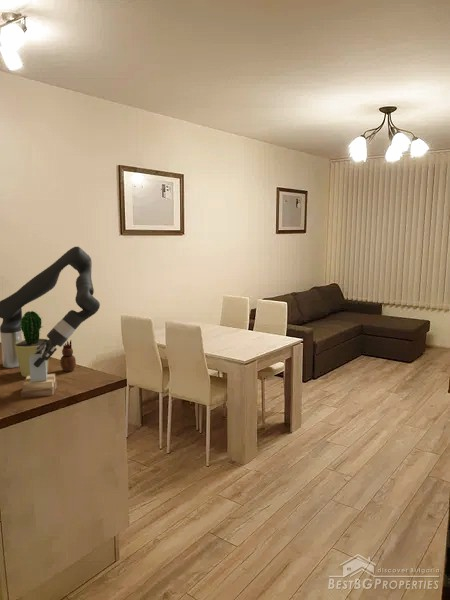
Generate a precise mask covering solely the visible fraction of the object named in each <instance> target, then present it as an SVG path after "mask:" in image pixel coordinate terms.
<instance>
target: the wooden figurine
mask: <svg viewBox="0 0 450 600" xmlns="http://www.w3.org/2000/svg"><path fill="white" fill-rule="evenodd" d="M62 347H63V348H62V350H61V354H62V356H61V357H60V359H59V360H60V361H59V362H60V367H61V370H62V371H63V372H69V373H70V372H73V371H74V370H75V368H76V366H77V365H76V364H77V363H76V361H77V360H76V357H75V356H74V355H73V354H74V350H73V348H72V347H73V346H72V339H70V341H69V340H67V341H66V342H65V343H64V344H63V345H62Z"/></svg>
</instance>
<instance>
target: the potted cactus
mask: <svg viewBox="0 0 450 600" xmlns="http://www.w3.org/2000/svg"><path fill="white" fill-rule="evenodd" d="M42 319H43V317H42V316H40V313H39V314H38V312H37V311H34V310H31V311H30V310H28V311H25V312H24V314H23V315H22V321H21V335H22V336H23V337H22V338H23V339H22V341H19V342H16V343H15V344H14V345H15V350H16V354H17V358H18V362H19V371H20V375H21V376H22V377H25V378H27V376H28V375H30V365H29V357H30V354H35V353H36V351H37V350H36V349H37V348H38V347H39V346H40V345H41V344H42V343H43V342H44V340H45V339H47V338H40V332H41V329H42V328H43V326H42ZM19 324H20V323H19ZM47 340H49V338H48V339H47ZM49 359H50V358H49ZM49 359H48V360H46V361H47V373H48V371H49Z"/></svg>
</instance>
